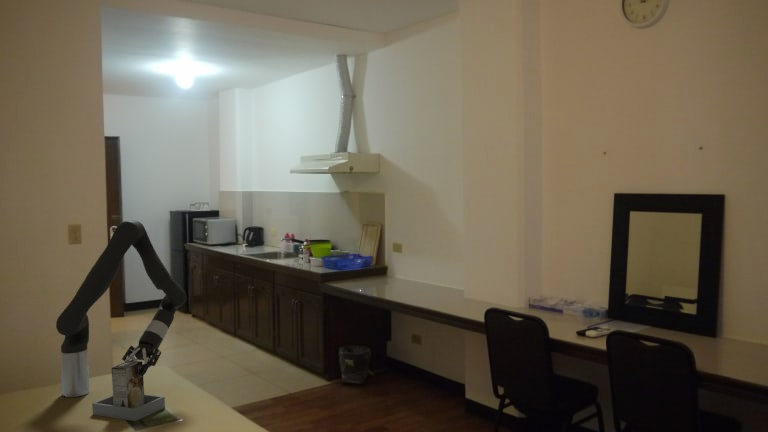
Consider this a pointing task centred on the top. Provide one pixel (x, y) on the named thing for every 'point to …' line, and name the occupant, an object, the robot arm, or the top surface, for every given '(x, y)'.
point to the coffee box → (128, 385)
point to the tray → (109, 410)
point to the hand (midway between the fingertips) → (131, 373)
